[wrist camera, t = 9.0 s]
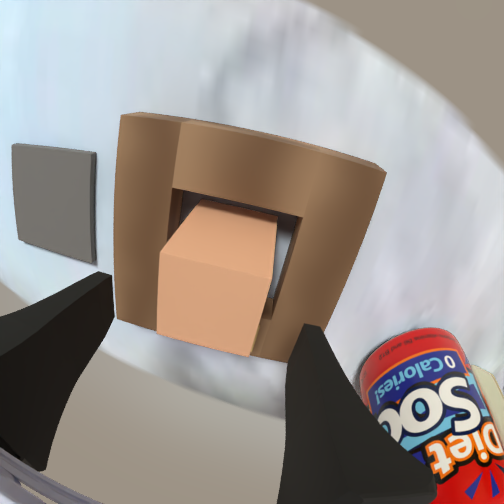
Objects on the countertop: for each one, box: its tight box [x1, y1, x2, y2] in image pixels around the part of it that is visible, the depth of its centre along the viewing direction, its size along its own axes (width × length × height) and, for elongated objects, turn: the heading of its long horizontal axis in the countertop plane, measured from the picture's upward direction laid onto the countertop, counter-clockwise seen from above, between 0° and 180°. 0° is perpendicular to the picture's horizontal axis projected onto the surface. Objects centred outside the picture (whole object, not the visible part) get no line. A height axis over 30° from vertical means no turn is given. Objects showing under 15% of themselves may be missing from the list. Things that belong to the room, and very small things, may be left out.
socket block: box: [114, 112, 387, 363], centre depth 16 cm, size 12×12×2 cm
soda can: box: [359, 327, 504, 504], centre depth 13 cm, size 8×8×15 cm
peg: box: [157, 199, 278, 357], centre depth 14 cm, size 4×4×6 cm
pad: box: [12, 143, 96, 263], centre depth 17 cm, size 7×7×1 cm
